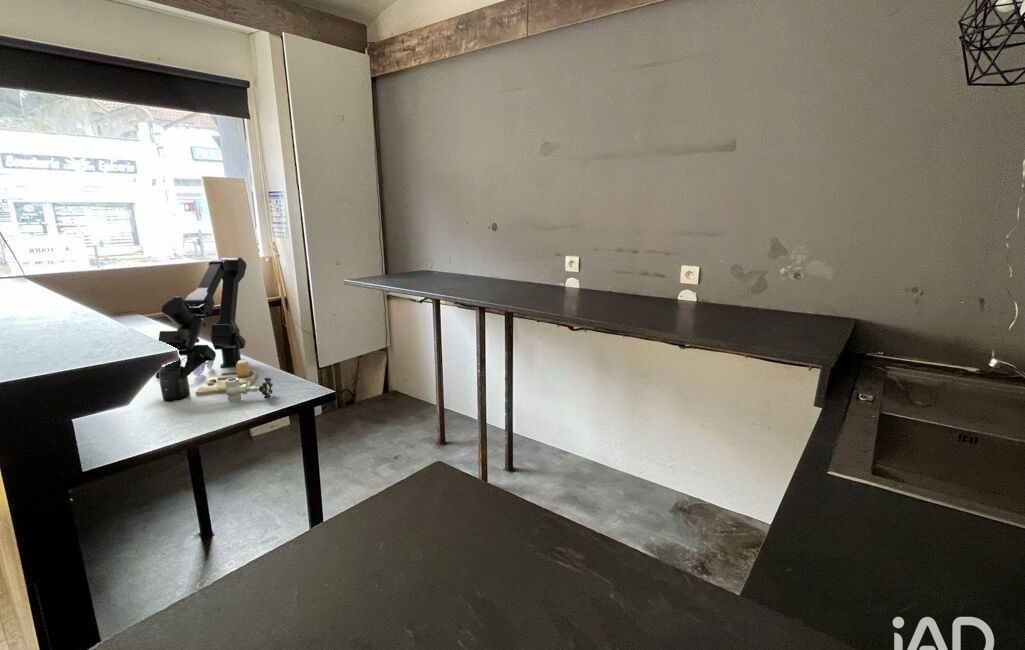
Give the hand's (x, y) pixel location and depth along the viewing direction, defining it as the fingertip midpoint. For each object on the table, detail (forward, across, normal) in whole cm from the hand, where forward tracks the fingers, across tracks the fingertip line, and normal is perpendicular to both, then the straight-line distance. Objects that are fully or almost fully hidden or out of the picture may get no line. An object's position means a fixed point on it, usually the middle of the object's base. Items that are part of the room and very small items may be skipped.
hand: (170, 378), depth 142 cm
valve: (+5, +22, +5) cm, 23 cm away
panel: (-4, +10, +13) cm, 17 cm away
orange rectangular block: (-9, +12, +16) cm, 22 cm away
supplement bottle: (+4, 0, +6) cm, 7 cm away
